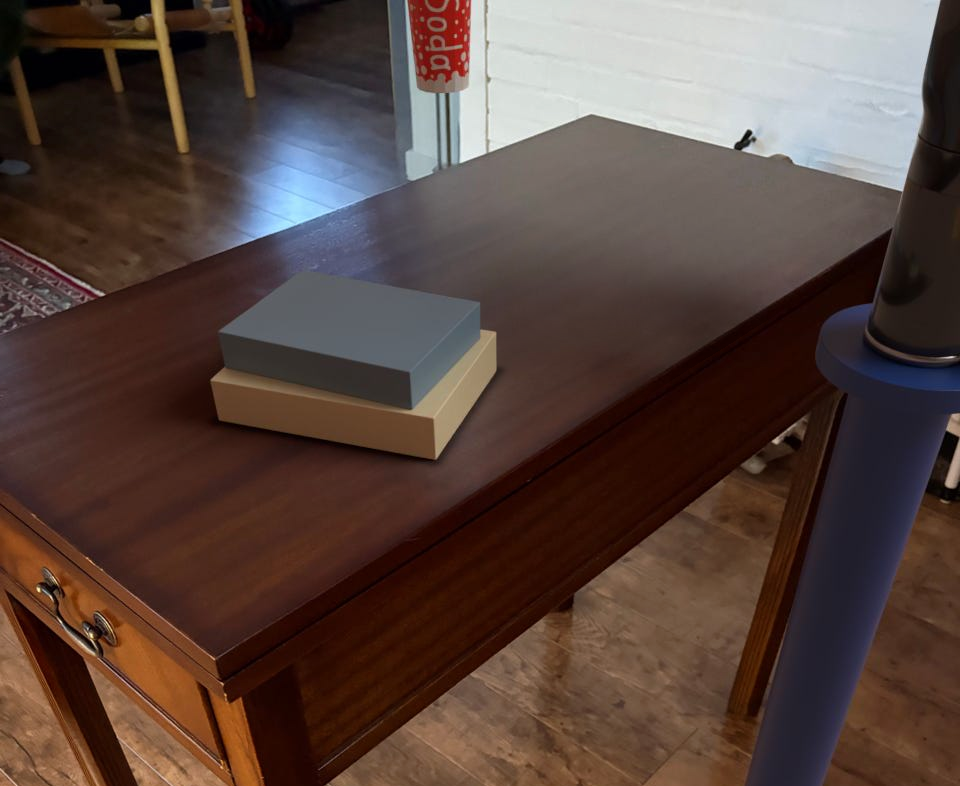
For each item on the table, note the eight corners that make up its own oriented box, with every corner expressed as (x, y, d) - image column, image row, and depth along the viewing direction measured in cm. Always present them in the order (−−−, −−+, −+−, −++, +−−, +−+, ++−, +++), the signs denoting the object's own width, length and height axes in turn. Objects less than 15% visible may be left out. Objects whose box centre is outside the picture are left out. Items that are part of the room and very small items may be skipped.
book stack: (496, 371, 83) (496, 295, 78) (436, 460, 73) (432, 379, 69) (300, 340, 87) (289, 266, 83) (218, 420, 78) (201, 342, 73)
